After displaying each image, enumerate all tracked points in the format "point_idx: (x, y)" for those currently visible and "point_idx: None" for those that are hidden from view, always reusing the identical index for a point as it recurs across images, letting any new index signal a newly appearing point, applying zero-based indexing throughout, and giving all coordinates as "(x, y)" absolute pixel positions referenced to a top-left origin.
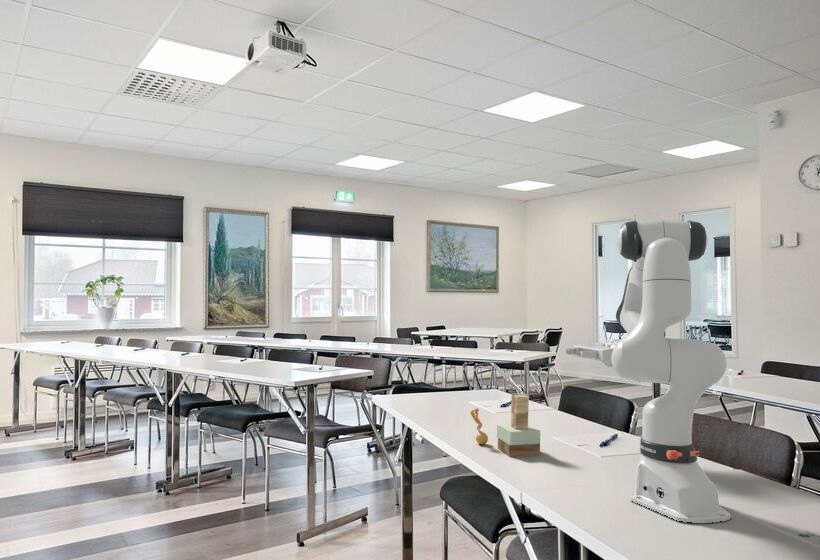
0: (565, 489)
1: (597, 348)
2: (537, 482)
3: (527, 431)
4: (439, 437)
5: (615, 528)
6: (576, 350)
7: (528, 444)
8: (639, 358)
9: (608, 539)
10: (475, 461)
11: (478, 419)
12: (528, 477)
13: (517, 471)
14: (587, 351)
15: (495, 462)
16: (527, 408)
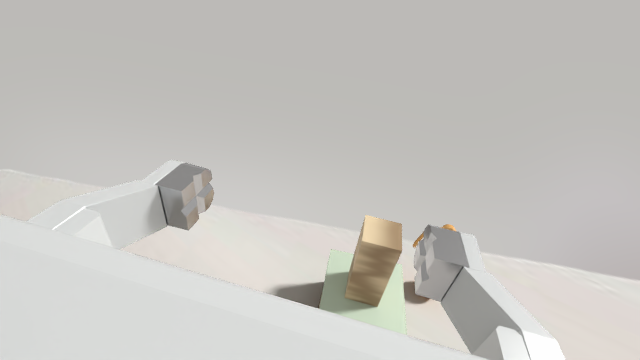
0: (134, 242)
1: (20, 242)
2: (187, 233)
3: (324, 283)
4: (483, 256)
5: (12, 200)
6: (483, 349)
7: (319, 303)
8: None
9: (16, 179)
10: (321, 225)
11: (421, 235)
12: (213, 237)
13: (246, 242)
14: (140, 181)
15: (304, 244)
16: (355, 262)
